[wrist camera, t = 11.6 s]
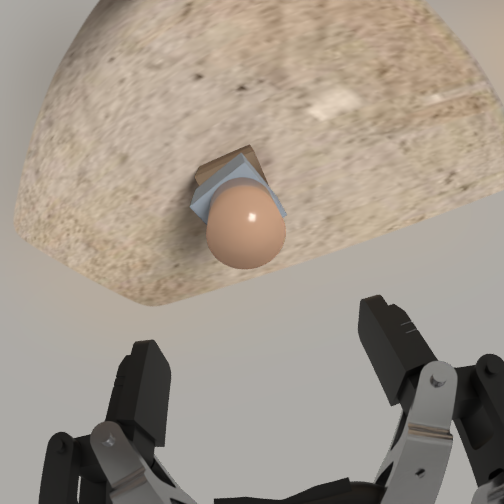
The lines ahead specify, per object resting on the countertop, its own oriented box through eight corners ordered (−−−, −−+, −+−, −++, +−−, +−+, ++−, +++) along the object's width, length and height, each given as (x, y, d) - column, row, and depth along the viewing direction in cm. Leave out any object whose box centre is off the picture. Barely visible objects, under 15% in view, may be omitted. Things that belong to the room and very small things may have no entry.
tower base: (199, 166, 30) (194, 177, 26) (249, 144, 29) (253, 151, 25) (221, 212, 33) (221, 230, 28) (269, 192, 32) (277, 206, 28)
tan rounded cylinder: (203, 183, 21) (198, 205, 17) (268, 172, 21) (281, 190, 17) (216, 241, 23) (215, 275, 19) (276, 231, 23) (289, 261, 19)
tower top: (195, 189, 26) (189, 206, 22) (241, 152, 25) (244, 162, 20) (232, 229, 28) (234, 253, 24) (276, 196, 27) (287, 214, 23)
